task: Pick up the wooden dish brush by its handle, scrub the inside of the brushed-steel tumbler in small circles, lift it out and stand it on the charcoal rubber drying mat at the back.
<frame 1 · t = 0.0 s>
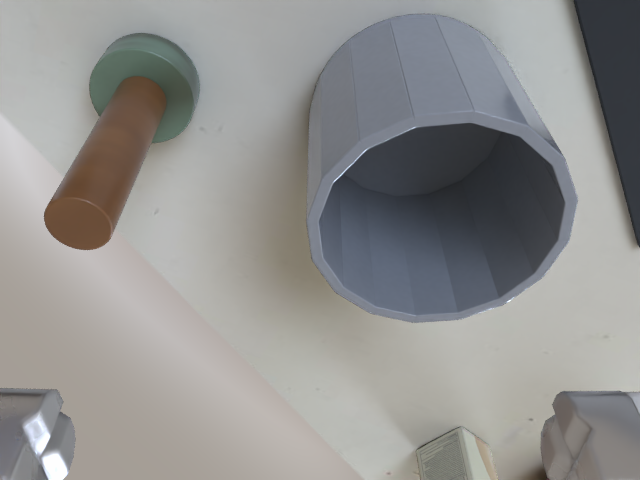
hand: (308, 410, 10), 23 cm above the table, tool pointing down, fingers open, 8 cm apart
tumbler: (410, 114, 32), on the table
box: (453, 444, 52), on the table
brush: (150, 81, 31), on the table
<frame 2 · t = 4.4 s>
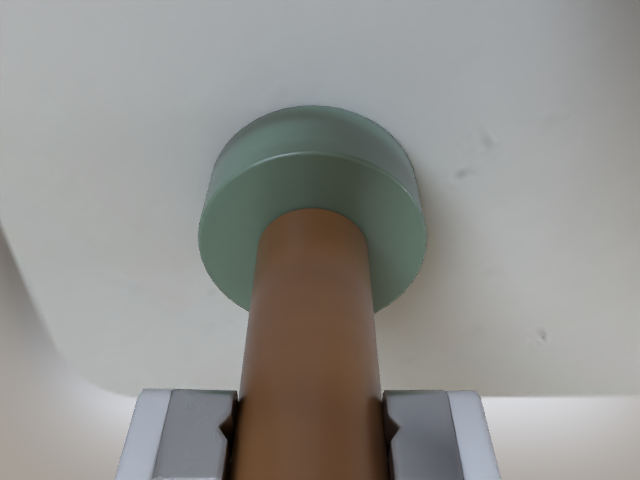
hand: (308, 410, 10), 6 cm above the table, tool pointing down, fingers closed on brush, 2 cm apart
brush: (313, 197, 15), on the table, touching gripper
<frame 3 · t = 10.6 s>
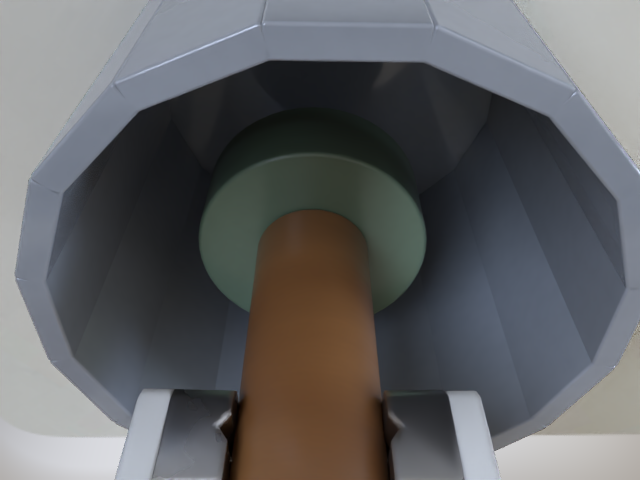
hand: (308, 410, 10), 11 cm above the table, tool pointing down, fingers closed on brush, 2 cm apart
tumbler: (329, 80, 18), on the table
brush: (313, 198, 15), point 5 cm above the table, touching gripper
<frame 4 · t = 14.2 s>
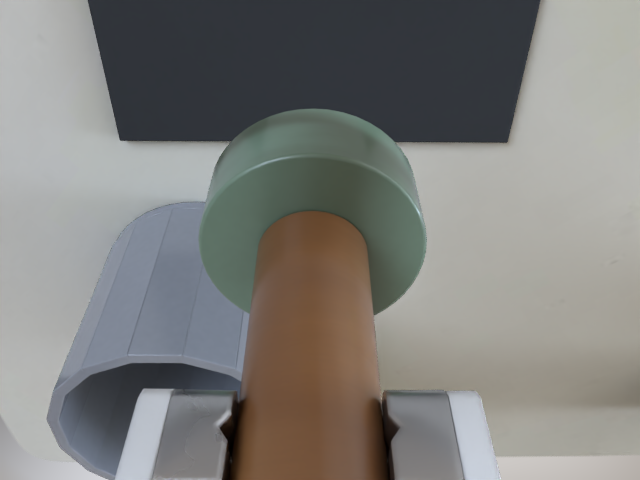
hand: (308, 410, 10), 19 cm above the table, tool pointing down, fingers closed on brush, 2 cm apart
tumbler: (207, 277, 34), on the table
drying mat: (314, 7, 25), on the table
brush: (313, 200, 15), point 13 cm above the table, touching gripper
when the fingers open (6 cm above the table, at t = 17.0 s): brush stays where it is, resting on drying mat.
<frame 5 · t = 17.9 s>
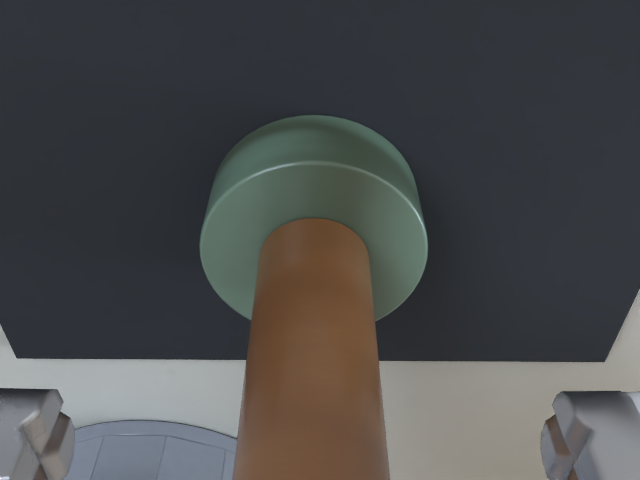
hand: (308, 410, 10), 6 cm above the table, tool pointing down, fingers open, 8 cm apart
drying mat: (312, 191, 15), on the table
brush: (314, 205, 15), resting on drying mat
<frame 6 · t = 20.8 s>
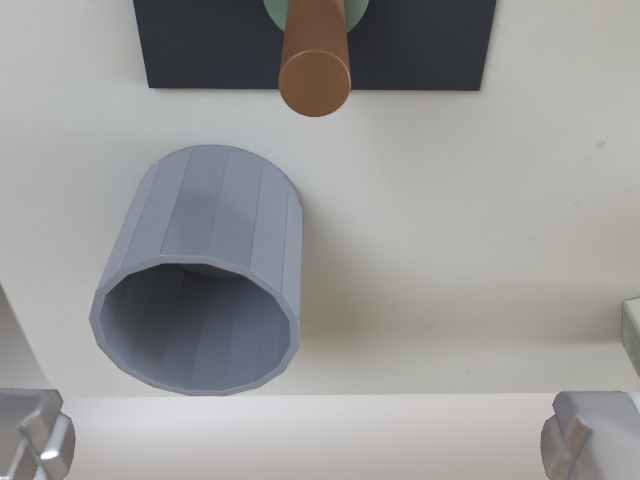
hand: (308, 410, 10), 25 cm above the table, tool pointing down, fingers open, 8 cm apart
tumbler: (220, 216, 39), on the table
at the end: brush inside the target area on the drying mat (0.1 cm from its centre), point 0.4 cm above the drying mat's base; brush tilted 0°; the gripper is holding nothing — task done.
